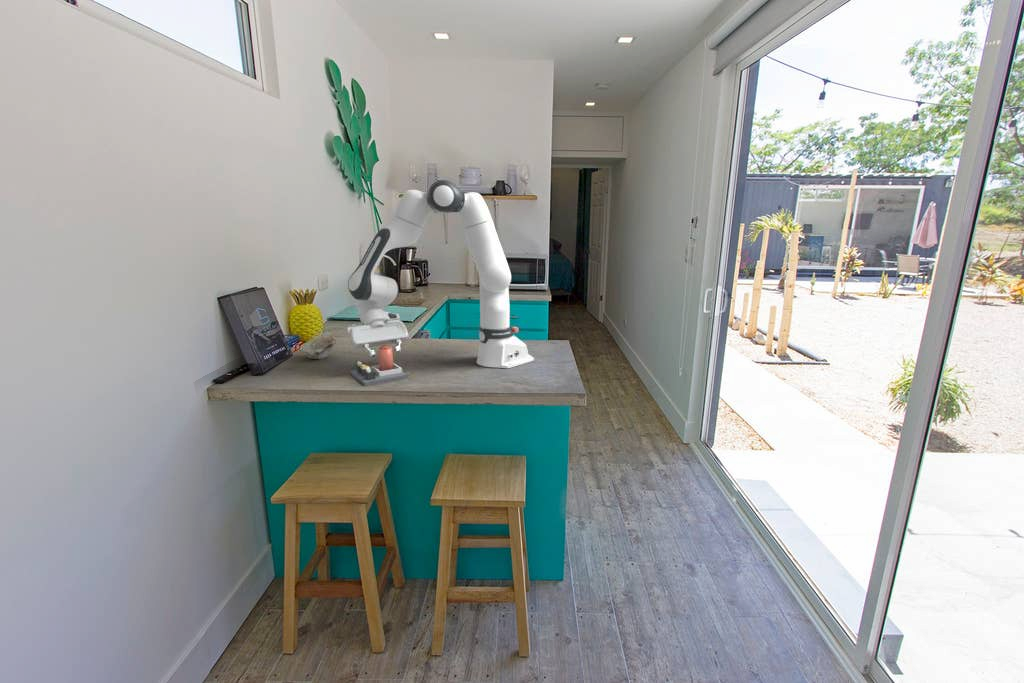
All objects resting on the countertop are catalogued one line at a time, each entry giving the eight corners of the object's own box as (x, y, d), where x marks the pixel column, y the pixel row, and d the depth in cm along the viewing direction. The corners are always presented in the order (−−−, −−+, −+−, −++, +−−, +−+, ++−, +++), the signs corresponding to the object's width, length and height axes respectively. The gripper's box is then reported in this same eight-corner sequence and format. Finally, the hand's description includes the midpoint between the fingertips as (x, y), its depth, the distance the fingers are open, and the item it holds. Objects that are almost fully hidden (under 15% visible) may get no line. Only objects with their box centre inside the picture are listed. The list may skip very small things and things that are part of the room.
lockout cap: (390, 368, 181) (389, 344, 179) (395, 371, 178) (394, 346, 175) (378, 370, 179) (376, 345, 176) (382, 374, 175) (381, 348, 173)
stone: (326, 364, 190) (324, 338, 188) (294, 361, 194) (291, 336, 191) (342, 356, 200) (340, 332, 198) (311, 353, 204) (309, 329, 201)
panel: (391, 367, 187) (390, 354, 186) (407, 377, 175) (406, 365, 174) (350, 374, 179) (349, 361, 177) (364, 385, 167) (363, 372, 165)
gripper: (346, 320, 173) (357, 353, 168) (402, 313, 185) (415, 345, 179) (344, 330, 178) (354, 363, 173) (398, 323, 189) (410, 354, 184)
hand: (385, 354), depth 176 cm, fingers open, 8 cm apart
